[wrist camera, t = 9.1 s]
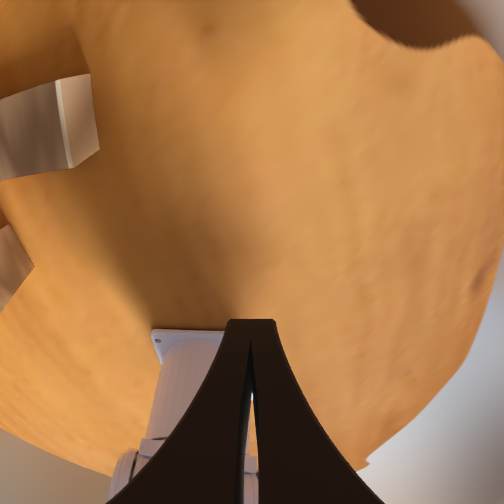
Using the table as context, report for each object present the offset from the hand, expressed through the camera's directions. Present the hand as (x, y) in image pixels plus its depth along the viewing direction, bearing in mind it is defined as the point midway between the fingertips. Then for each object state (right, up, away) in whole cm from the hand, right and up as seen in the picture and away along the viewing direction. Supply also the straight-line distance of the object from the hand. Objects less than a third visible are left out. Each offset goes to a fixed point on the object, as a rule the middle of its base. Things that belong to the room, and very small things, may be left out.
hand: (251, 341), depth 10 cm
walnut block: (-9, +10, +4) cm, 13 cm away
